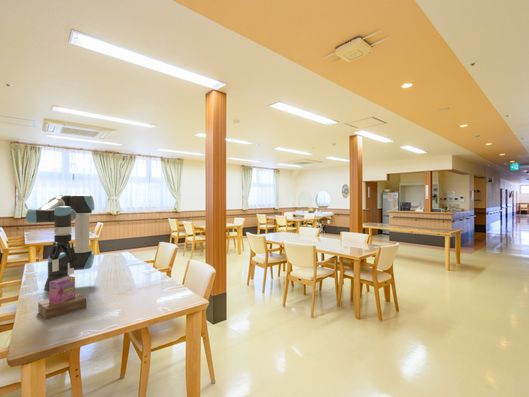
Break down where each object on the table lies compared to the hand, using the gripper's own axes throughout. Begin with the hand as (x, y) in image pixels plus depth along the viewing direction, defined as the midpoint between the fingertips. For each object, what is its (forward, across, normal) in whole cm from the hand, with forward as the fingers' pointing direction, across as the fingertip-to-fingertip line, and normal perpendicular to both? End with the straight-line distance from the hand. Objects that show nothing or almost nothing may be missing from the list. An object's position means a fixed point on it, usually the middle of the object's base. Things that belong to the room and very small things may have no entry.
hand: (63, 272), depth 146 cm
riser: (+21, 0, 0) cm, 21 cm away
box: (+15, 0, 0) cm, 15 cm away
